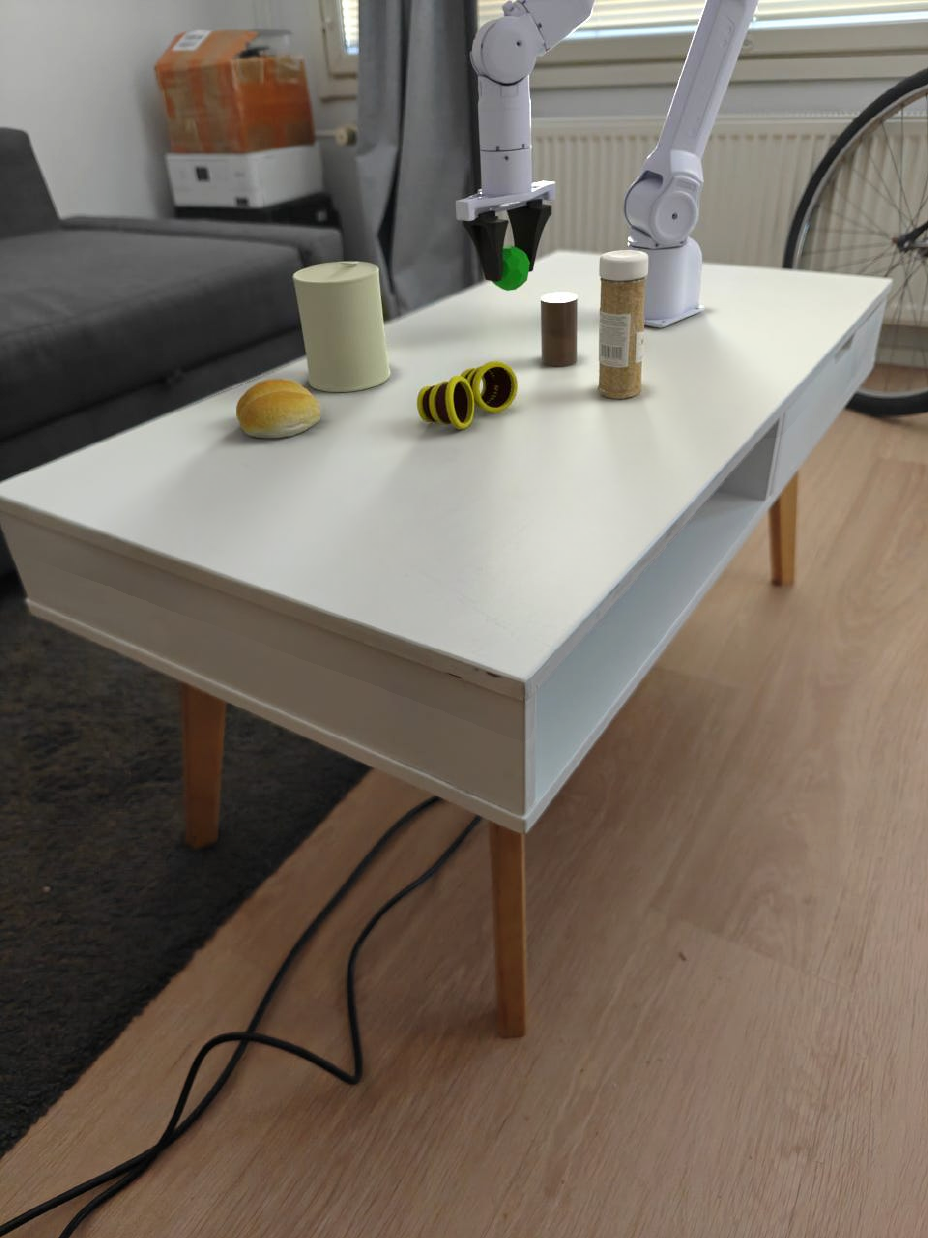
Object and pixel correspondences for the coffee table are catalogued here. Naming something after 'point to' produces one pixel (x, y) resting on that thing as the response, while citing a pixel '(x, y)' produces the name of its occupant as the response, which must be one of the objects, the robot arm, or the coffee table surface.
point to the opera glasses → (468, 395)
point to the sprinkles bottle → (621, 322)
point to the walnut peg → (559, 329)
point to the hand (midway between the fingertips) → (509, 275)
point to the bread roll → (277, 409)
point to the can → (342, 325)
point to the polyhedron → (513, 268)
